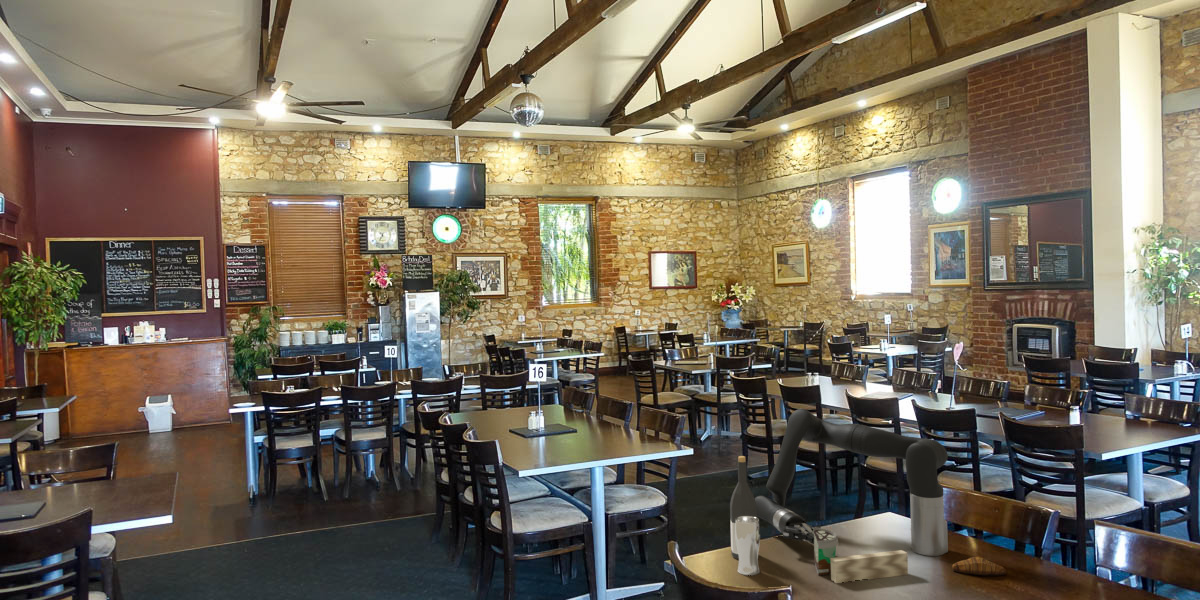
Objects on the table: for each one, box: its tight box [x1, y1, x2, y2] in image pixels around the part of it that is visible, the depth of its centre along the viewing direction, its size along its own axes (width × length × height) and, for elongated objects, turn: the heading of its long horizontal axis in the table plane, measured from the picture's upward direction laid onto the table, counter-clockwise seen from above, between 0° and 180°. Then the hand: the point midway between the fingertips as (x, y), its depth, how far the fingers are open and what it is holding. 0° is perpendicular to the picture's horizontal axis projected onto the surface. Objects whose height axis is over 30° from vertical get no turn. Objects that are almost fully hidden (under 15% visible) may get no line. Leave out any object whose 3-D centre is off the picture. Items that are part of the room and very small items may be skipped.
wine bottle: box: [729, 455, 758, 560], centre depth 221 cm, size 8×8×30 cm
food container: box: [813, 527, 839, 576], centre depth 209 cm, size 12×6×10 cm, turn 170°
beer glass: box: [735, 516, 761, 576], centre depth 209 cm, size 7×7×15 cm
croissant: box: [951, 555, 1006, 577], centre depth 203 cm, size 14×7×5 cm, turn 75°
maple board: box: [830, 550, 909, 584], centre depth 202 cm, size 22×2×6 cm, turn 102°
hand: (816, 541), depth 214 cm, fingers closed
